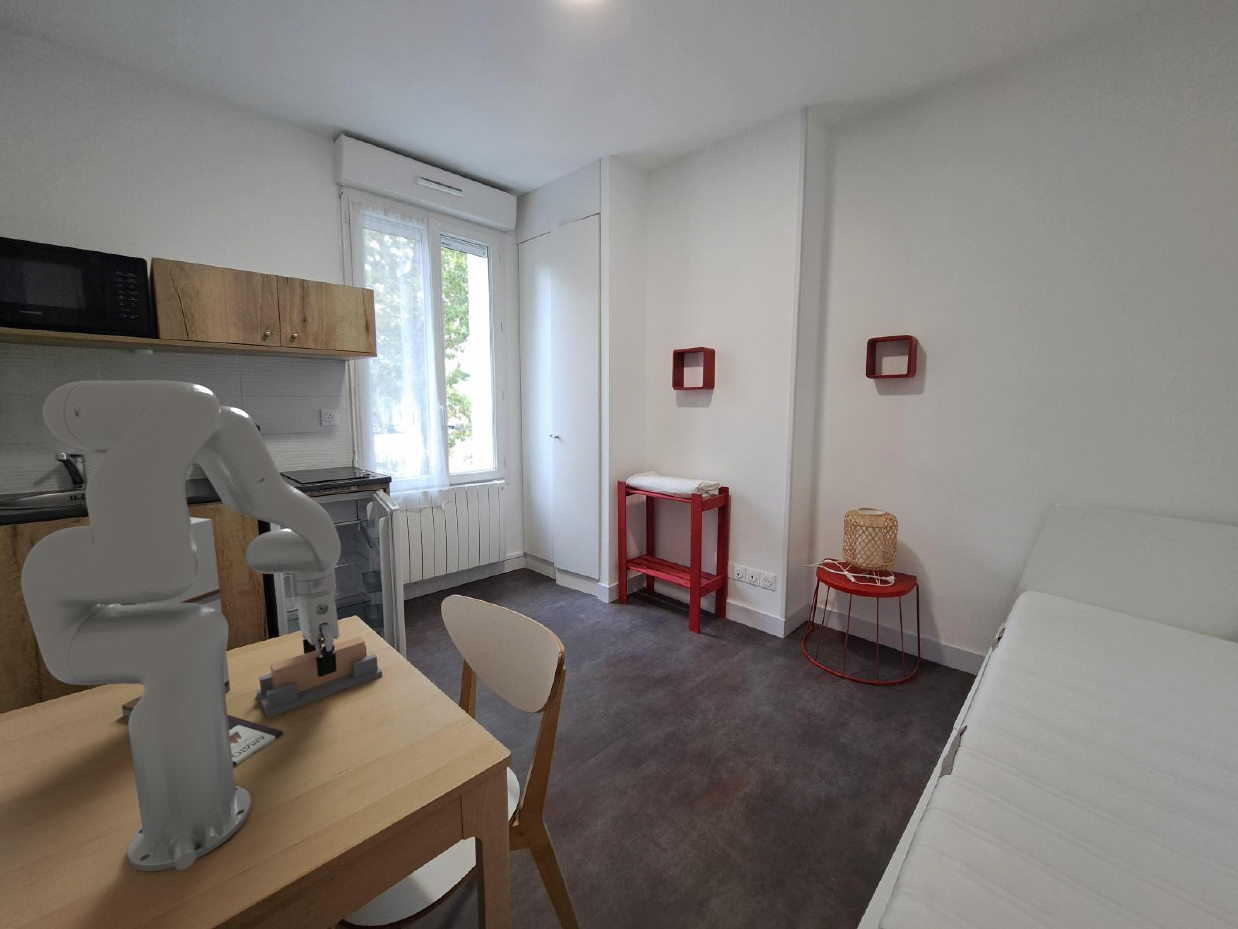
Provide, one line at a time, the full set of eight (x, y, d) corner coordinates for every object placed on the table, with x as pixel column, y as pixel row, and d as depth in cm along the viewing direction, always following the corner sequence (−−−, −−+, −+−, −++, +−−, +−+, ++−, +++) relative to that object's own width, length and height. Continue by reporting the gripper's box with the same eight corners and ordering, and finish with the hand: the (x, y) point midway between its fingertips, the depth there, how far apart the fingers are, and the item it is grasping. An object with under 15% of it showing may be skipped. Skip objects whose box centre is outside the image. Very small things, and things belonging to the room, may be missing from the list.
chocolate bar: (212, 710, 91) (282, 731, 85) (212, 714, 91) (283, 736, 86) (153, 742, 83) (227, 768, 77) (154, 747, 83) (227, 773, 77)
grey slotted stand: (382, 675, 104) (381, 657, 103) (267, 718, 90) (265, 698, 89) (365, 658, 111) (364, 641, 110) (257, 695, 97) (255, 676, 96)
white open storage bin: (191, 681, 101) (171, 515, 97) (230, 689, 99) (211, 519, 94) (123, 715, 90) (97, 530, 86) (164, 725, 88) (140, 534, 83)
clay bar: (366, 668, 105) (364, 641, 104) (276, 700, 94) (273, 670, 93) (361, 662, 107) (359, 636, 106) (273, 693, 96) (270, 664, 95)
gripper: (348, 590, 94) (354, 673, 96) (322, 568, 106) (328, 643, 108) (303, 601, 89) (310, 689, 91) (281, 577, 101) (288, 655, 103)
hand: (320, 664), depth 100 cm, fingers open, 9 cm apart
